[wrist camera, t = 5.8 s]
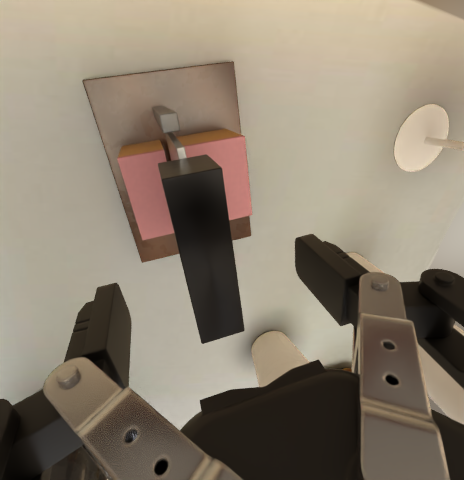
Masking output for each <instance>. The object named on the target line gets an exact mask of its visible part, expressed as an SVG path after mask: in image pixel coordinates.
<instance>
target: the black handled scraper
mask: <svg viewBox="0 0 464 480" xmlns="http://www.w3.org/2000/svg"><path fill="white" fill-rule="evenodd" d="M165 135H166V140H167V144H168V149H169V153H170V158H171V161H167V162H162V163H158V168H159V172H160V177H161V181H162V185H163V189H164V193H165V197H166V201H167V205H168V209H169V213H170V217H171V221H172V225H173V229H174V233H175V237H176V241H177V246H178V250H179V254H180V258H181V262H182V266H183V270H184V274H185V278H186V282H187V286H188V290H189V294H190V298H191V302H192V306H193V310H194V314H195V318H196V322H197V326H198V331H199V335H200V339H201V343H202V344H204V343H207V342H210V341H214V340H217V339H220V338H223V337H226V336H230V335H233V334H236V333H239V332H243V331H244V323H243V316H242V308H241V301H240V294H239V287H238V279H237V272H236V265H235V258H234V251H233V243H232V236H231V229H230V222H229V214H228V207H227V200H226V193H225V186H224V178H223V171H222V168H221V167H220V166H219V165H218V164H217V163H216V162H215V161H214V160H213V159H212V158H210V157H209V156H208V155H207V154H205V155H200V156H194V157H189V158H187V157H186V151H185V147H184V146H183V145H182V144H181V142H180V141H179V140H178V139H177V138H176V136H175V135H174V134H173V133H172V132H170V133H165Z"/></svg>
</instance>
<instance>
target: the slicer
mask: <svg viewBox="0 0 464 480" xmlns="http://www.w3.org/2000/svg"><path fill="white" fill-rule="evenodd" d="M83 84H84V87H85V90H86V93H87V96H88V99H89V102H90V105H91V108H92V111H93V114H94V117H95V120H96V123H97V127H98V130H99V133H100V136H101V139H102V142H103V145H104V148H105V151H106V154H107V157H108V160H109V163H110V166H111V169H112V172H113V175H114V178H115V181H116V185H117V188H118V191H119V194H120V197H121V200H122V203H123V206H124V209H125V212H126V215H127V218H128V221H129V224H130V227H131V230H132V233H133V236H134V239H135V242H136V246H137V249H138V252H139V255H140V258H141V261H142V263H143V262H147V261H151V260H155V259H159V258H163V257H167V256H171V255H175V254H179V250H178V246H177V241H176V237H175V233H172V234H168V235H164V236H159V237H155V238H151V239H146V240H142V237H141V234H140V231H139V228H138V224H137V221H136V218H135V215H134V212H133V208H132V205H131V202H130V199H129V196H128V192H127V189H126V186H125V183H124V180H123V176H122V173H121V170H120V167H119V164H118V160H117V158H118V155H119V153H120V150H121V147H122V146H125V145H131V144H137V143H143V142H149V141H155V140H160V142H161V144H162V147H163V149H164V152H165V156H166V161H171V158H170V153H169V149H168V144H167V140H166V135H165V133H170V132H172V133H173V134H174V135H175V136H176V137H179V136H185V135H191V134H196V133H202V132H208V131H214V130H220V129H228V130H230V131H233V132H235V133H238V134H240V135H241V129H240V119H239V109H238V100H237V90H236V80H235V70H234V62H233V61H232V62H224V63H216V64H207V65H199V66H191V67H183V68H175V69H167V70H159V71H151V72H143V73H135V74H127V75H119V76H111V77H103V78H95V79H87V80H83ZM229 222H230V229H231V236H232V240H236V239H241V238H245V237H249V236H251V229H250V219H249V216H246V217H241V218H237V219H233V220H229Z"/></svg>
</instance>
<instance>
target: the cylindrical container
mask: <svg viewBox="0 0 464 480" xmlns="http://www.w3.org/2000/svg"><path fill="white" fill-rule="evenodd" d="M346 254H347V255H349V257H351V258H353V259H354V260H355V261H356V262H358V263H359V264H360V265H362V266H363V267H364V268H365V269H367V270H368V271H369V272H380V273H384V272H382V271H381V270H379V269H378V268H377V267H375V266H374V265H373V264H371V263H370V262H369V261H367V260H366V259H364V258H363V257H362V256H360V255H359V254H357V253H353V252H350V253H346ZM453 328H455V329H456V330H457V331H458V332H460V333H461V334H462V335H463V336H464V331H463V330H461V329H460V328H458V327H457V326H456V325H455V324H454V326H453ZM418 347H419V352H420V357H421V362H422V368H423V373H424V378H425V383H426V388H427V393H428V396H429V397H430V398H431V399H432V400H433V401H434V402H435V403H436V404H437V405H438V406H439V407H440V408H441V410H442V411H443V412H444V413H445V414H446V415H447V416H448V417H449V418H451V419H453V420H455V421H457V422H459V423H461V424H463V425H464V389H463V388H462V387H461V386H460V385H459V384H458V383H457V382H456V381H455V380H454V379H453V378H452V377H451V376H450V375H449V374H448V373H447V372H446V371H445V370H444V369H443V368H442V367H441V366H440V365H439V364H438V363H437V362H436V361H435V360H434V359H433V358H432V357H431V356H430V355H429V354H428V353H427V352H426V351H425V350H424V349H423V348H422V347H421V346H420V345H419V344H418Z"/></svg>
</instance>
